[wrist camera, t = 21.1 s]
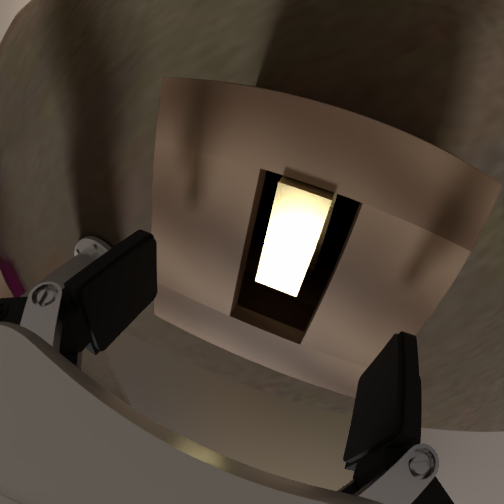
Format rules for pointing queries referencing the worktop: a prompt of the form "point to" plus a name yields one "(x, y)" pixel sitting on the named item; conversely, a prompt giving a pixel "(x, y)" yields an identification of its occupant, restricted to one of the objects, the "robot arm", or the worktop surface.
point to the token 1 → (292, 234)
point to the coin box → (320, 281)
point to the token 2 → (321, 238)
